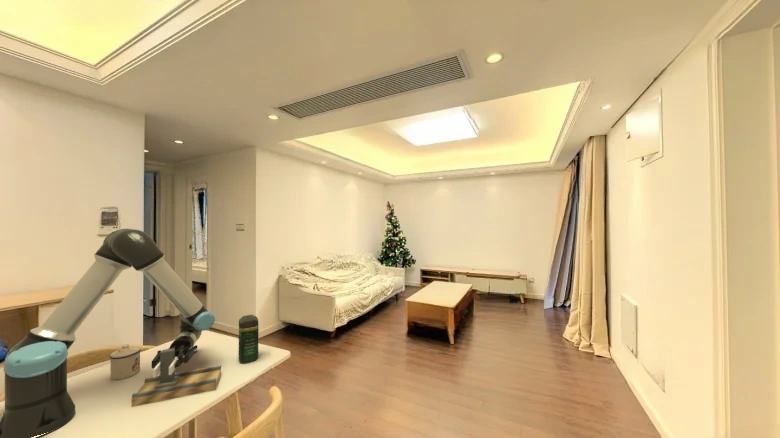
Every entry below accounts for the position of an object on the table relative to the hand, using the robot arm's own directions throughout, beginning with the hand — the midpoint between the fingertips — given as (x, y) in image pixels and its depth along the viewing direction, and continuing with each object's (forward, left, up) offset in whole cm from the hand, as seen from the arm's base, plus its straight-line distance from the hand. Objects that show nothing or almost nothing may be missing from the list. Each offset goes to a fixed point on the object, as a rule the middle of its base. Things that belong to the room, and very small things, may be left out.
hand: (162, 372), depth 96 cm
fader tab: (0, +5, -7) cm, 9 cm away
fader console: (+4, +5, -10) cm, 12 cm away
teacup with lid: (-20, +27, -10) cm, 35 cm away
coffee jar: (+25, +21, -10) cm, 34 cm away
